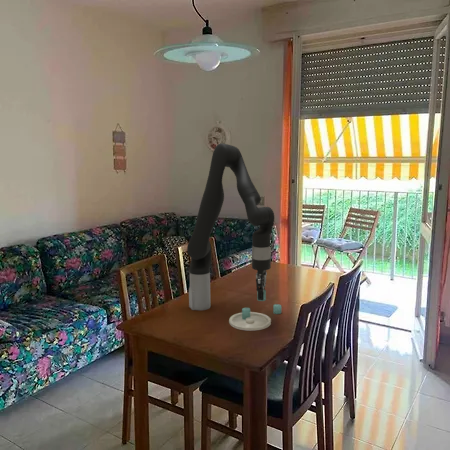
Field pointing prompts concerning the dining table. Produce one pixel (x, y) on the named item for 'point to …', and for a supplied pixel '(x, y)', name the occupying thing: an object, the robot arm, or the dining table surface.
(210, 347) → the dining table surface
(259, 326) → the groove dish
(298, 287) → the dining table surface
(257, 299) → the bead
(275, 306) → the bead
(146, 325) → the dining table surface
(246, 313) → the bead
